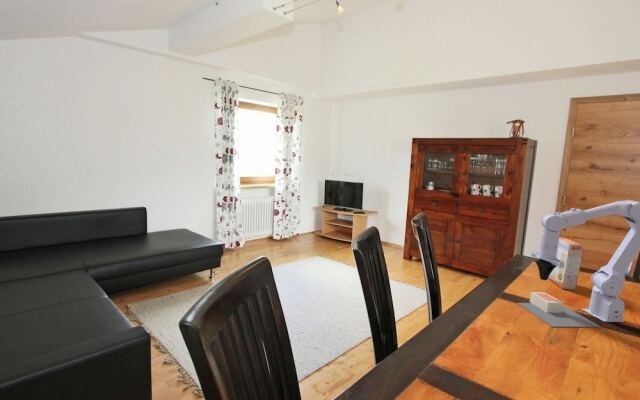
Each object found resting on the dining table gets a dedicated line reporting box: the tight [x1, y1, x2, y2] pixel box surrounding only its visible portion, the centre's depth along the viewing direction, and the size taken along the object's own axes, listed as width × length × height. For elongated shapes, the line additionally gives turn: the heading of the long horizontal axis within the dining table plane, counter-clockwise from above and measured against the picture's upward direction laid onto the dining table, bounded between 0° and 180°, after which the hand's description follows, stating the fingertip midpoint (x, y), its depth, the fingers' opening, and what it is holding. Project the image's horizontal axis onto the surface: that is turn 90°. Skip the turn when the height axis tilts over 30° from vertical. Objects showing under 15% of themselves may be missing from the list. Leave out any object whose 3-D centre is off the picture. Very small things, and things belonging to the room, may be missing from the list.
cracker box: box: [548, 237, 584, 291], centre depth 155 cm, size 14×6×21 cm, turn 168°
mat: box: [516, 302, 602, 328], centre depth 125 cm, size 18×18×1 cm
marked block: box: [529, 291, 564, 313], centre depth 130 cm, size 4×6×9 cm
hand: (543, 279), depth 131 cm, fingers closed
